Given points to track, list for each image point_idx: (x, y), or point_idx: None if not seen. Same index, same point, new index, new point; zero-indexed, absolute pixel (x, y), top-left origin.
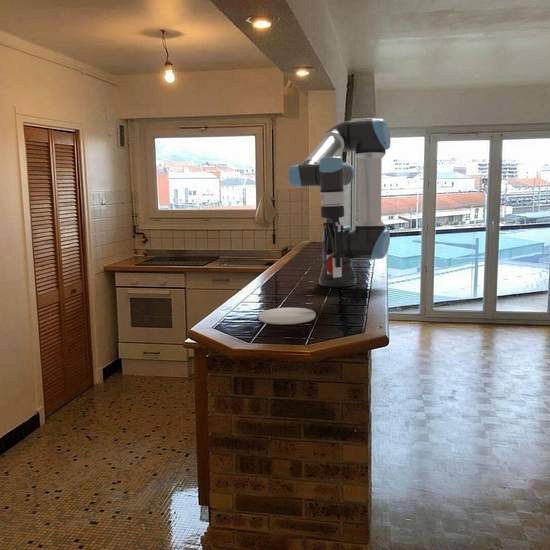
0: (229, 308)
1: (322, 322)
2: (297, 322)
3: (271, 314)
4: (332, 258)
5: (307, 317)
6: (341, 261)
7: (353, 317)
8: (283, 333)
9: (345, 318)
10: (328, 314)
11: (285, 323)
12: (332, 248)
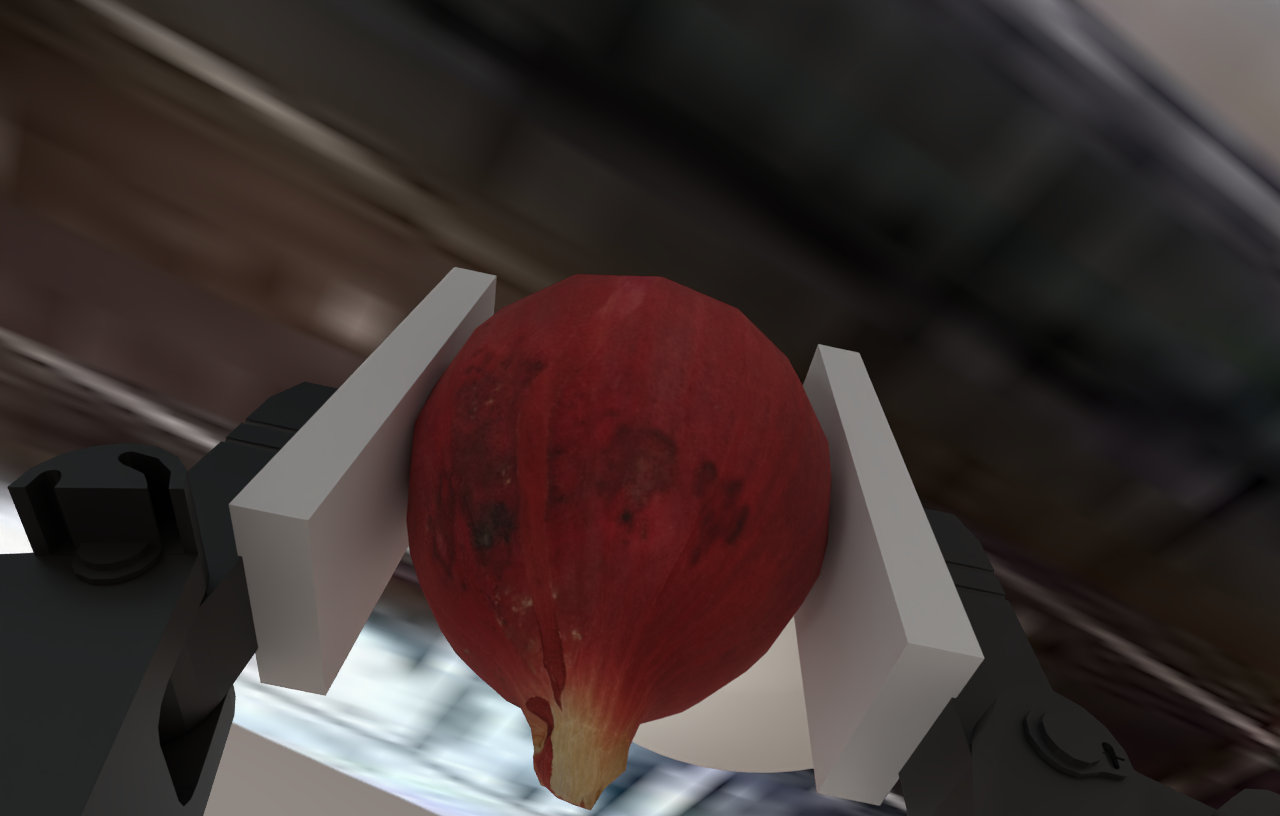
0: (332, 736)
1: (1048, 542)
2: None
3: (704, 715)
4: (697, 699)
5: None
6: (793, 456)
7: (1134, 277)
8: None
9: (1099, 354)
10: None
11: None
12: (134, 774)
